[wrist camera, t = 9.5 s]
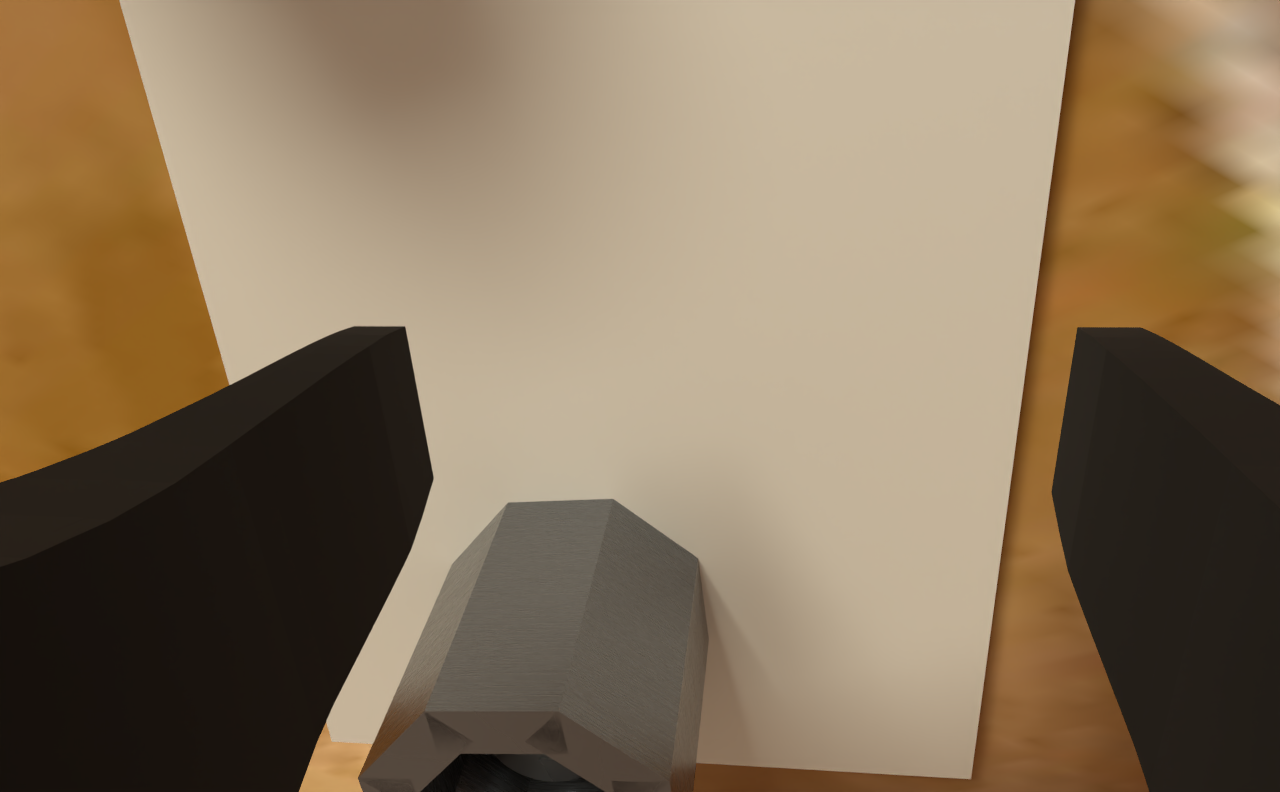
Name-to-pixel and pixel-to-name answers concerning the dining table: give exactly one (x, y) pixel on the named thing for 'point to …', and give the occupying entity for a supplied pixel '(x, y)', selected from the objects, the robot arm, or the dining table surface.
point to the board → (662, 303)
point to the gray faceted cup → (554, 660)
